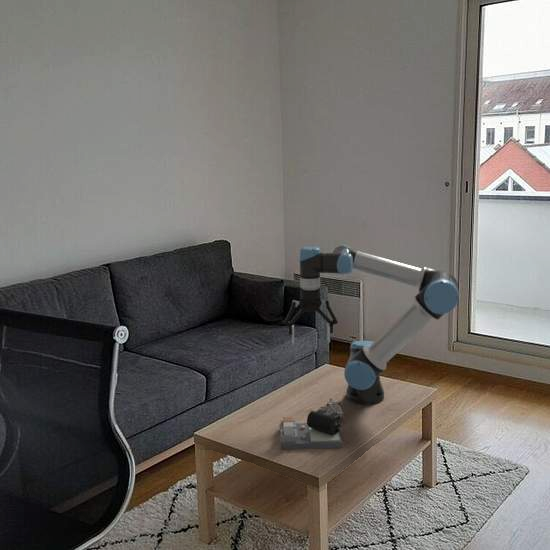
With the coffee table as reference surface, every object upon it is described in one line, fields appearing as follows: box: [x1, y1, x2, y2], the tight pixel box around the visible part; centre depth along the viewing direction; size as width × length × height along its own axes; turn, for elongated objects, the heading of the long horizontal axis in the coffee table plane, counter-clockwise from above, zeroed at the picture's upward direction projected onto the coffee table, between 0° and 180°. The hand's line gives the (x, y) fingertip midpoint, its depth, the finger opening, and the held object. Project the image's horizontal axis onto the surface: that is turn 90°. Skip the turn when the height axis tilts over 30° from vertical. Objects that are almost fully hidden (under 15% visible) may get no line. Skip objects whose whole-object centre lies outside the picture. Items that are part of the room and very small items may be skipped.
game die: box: [319, 398, 346, 418], centre depth 246 cm, size 9×8×10 cm
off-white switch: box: [283, 422, 294, 436], centre depth 230 cm, size 4×4×4 cm
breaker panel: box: [279, 419, 343, 450], centre depth 234 cm, size 21×16×4 cm
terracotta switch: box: [282, 416, 294, 422], centre depth 237 cm, size 4×4×4 cm
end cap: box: [306, 408, 341, 435], centre depth 233 cm, size 10×7×7 cm
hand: (311, 341), depth 254 cm, fingers open, 13 cm apart
